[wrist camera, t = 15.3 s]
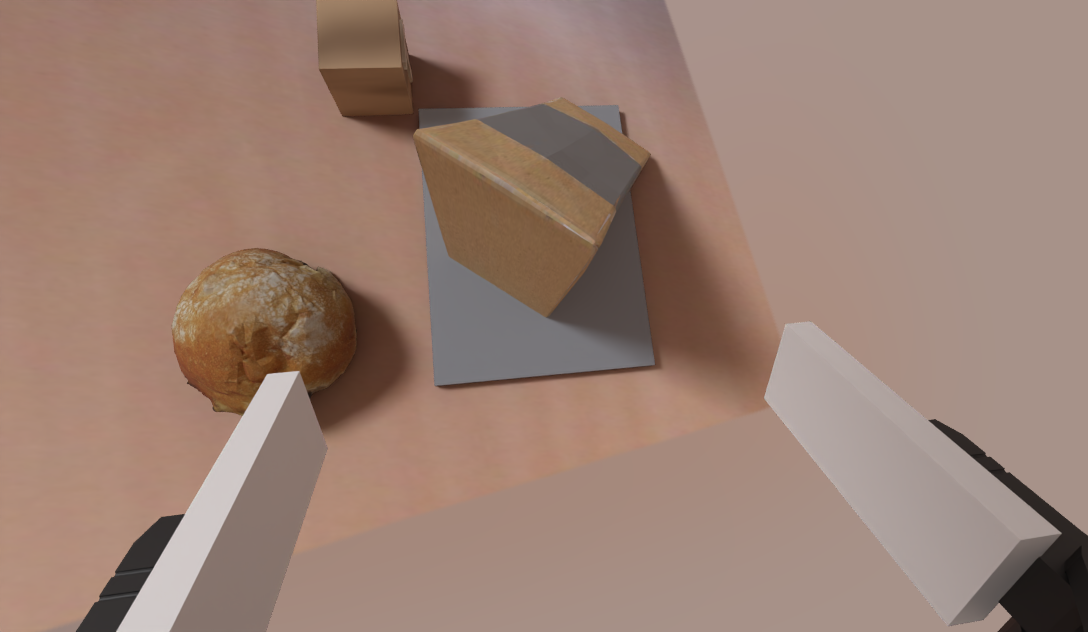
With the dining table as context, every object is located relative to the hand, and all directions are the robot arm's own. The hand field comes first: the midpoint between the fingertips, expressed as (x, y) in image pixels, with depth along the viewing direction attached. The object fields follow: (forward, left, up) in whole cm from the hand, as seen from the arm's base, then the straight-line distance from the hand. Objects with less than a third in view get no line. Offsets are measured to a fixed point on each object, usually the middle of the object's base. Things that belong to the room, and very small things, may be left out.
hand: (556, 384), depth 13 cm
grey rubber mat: (-11, +2, -19) cm, 22 cm away
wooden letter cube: (-24, -8, -19) cm, 32 cm away
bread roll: (-5, -15, -19) cm, 25 cm away
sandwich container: (-14, +4, -19) cm, 23 cm away
